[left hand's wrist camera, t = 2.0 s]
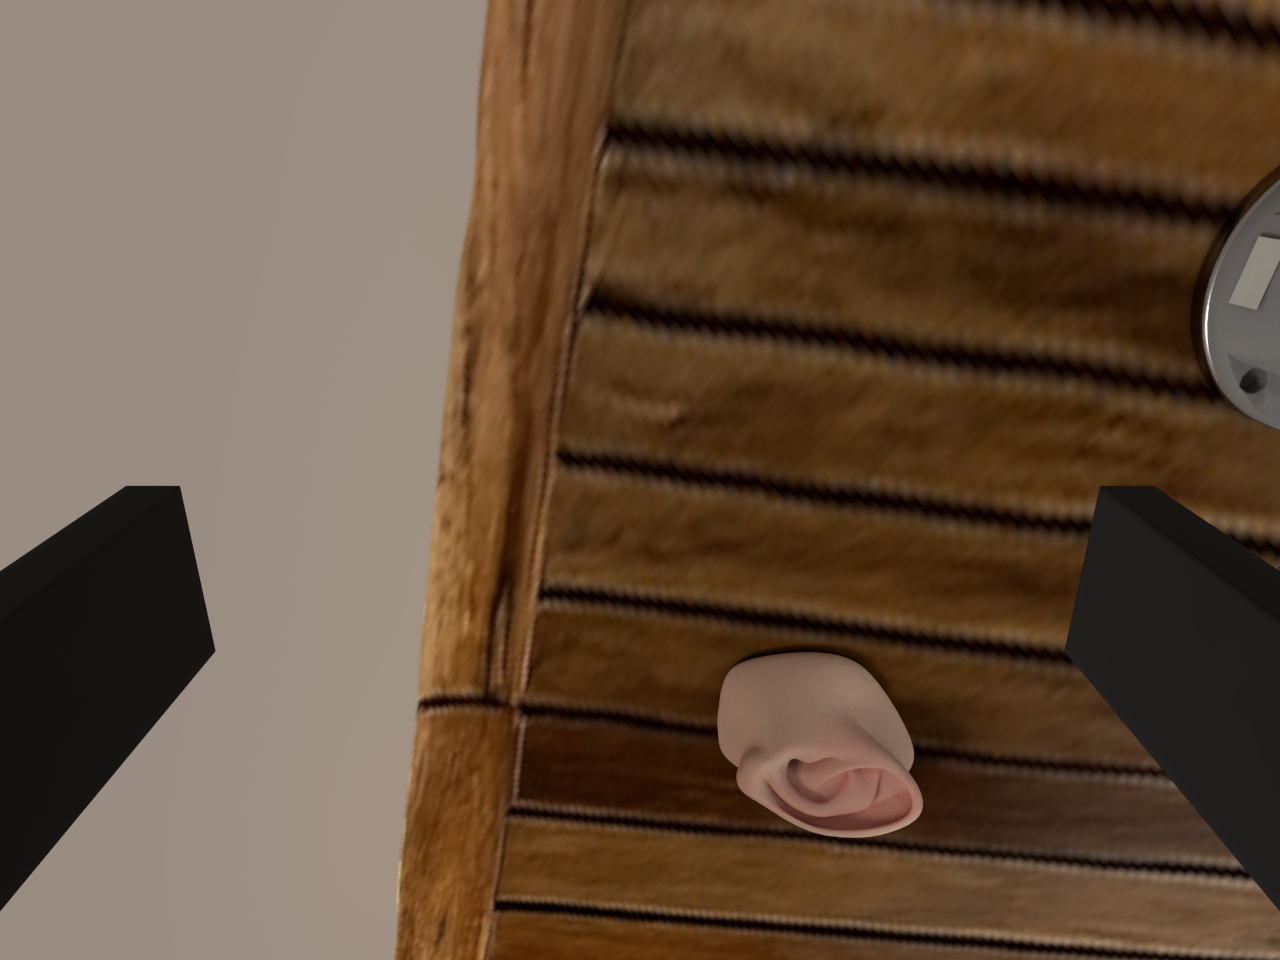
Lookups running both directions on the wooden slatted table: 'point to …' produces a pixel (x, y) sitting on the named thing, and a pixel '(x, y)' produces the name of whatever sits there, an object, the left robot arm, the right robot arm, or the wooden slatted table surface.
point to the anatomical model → (818, 744)
